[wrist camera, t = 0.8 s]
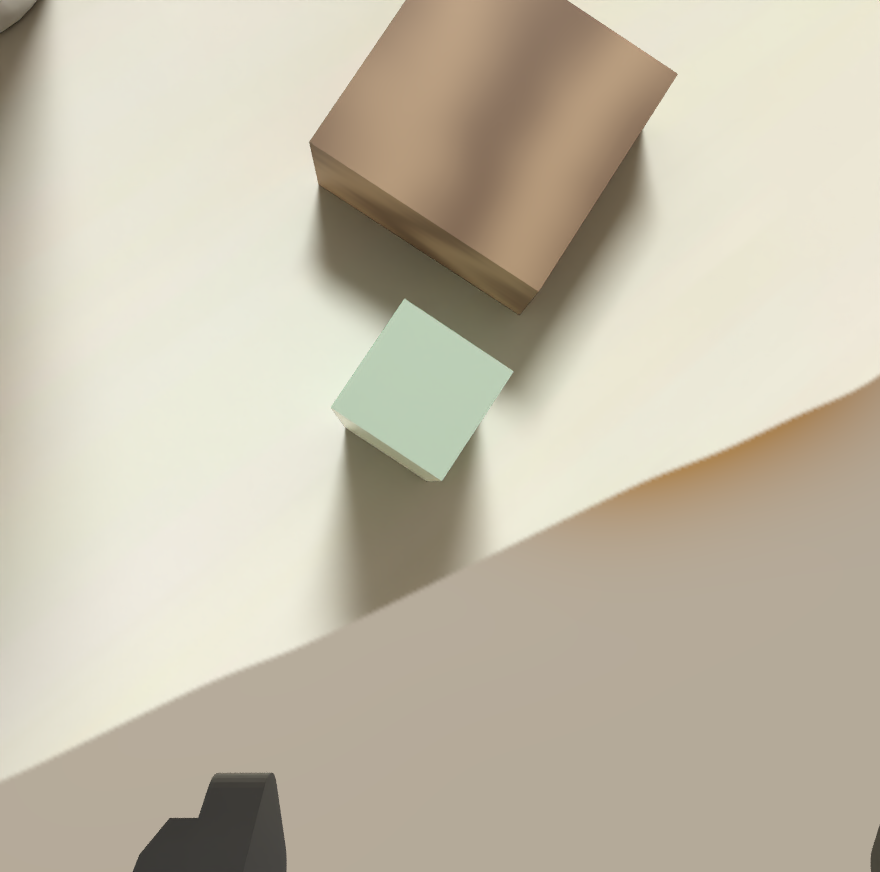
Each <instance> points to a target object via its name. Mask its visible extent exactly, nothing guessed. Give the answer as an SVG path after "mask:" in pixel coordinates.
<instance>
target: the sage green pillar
mask: <svg viewBox="0 0 880 872" xmlns="http://www.w3.org/2000/svg"><path fill="white" fill-rule="evenodd" d="M513 372H514V371H512V370H511V369H509V368H508V367H506V366H505V365H503V364H502V363H500V362H499V361H497V360H496V359H494V358H493V357H491V356H490V355H488V354H487V353H485V352H484V351H482V350H481V349H479V348H478V347H476V346H475V345H473V344H472V343H470V342H469V341H467V340H466V339H464V338H463V337H461V336H460V335H458V334H457V333H455V332H454V331H452V330H451V329H449V328H448V327H446V326H445V325H443V324H442V323H440V322H439V321H437V320H436V319H434V318H433V317H431V316H430V315H428V314H427V313H425V312H424V311H422V310H421V309H419V308H418V307H416V306H415V305H413V304H412V303H410V302H409V301H407V300H406V299H404V300H403V301H402V303H401V304H400V306H399V307H398V309H397V310H396V312H395V313H394V315H393V316H392V318H391V319H390V321H389V322H388V324H387V325H386V326H385V328H384V329H383V331H382V332H381V334H380V335H379V337H378V338H377V340H376V341H375V343H374V344H373V346H372V347H371V349H370V350H369V352H368V353H367V355H366V356H365V358H364V359H363V361H362V362H361V363H360V365H359V366H358V368H357V369H356V371H355V372H354V374H353V375H352V377H351V378H350V380H349V381H348V383H347V384H346V386H345V387H344V389H343V390H342V392H341V393H340V395H339V396H338V398H337V399H336V401H335V402H334V403H333V405H332V406H331V409H332V410H333V411H334V413H335V414H336V416H337V417H338V418H339V420H340V421H341V423H342V424H343V425H344V427H345V428H346V429H348V430H349V431H351V432H352V433H354V434H356V435H357V436H359V437H360V438H362V439H363V440H365V441H366V442H368V443H369V444H371V445H372V446H374V447H375V448H377V449H378V450H380V451H381V452H383V453H384V454H386V455H387V456H389V457H390V458H392V459H393V460H395V461H396V462H398V463H399V464H401V465H402V466H404V467H405V468H407V469H409V470H410V471H412V472H413V473H415V474H416V475H418V476H419V477H421V478H422V479H424V480H425V481H442V480H443V479H444V477H445V476H446V474H447V473H448V471H449V470H450V468H451V467H452V465H453V463H454V462H455V460H456V459H457V457H458V456H459V454H460V453H461V451H462V450H463V448H464V447H465V445H466V444H467V442H468V441H469V439H470V438H471V436H472V434H473V433H474V431H475V430H476V428H477V427H478V425H479V424H480V422H481V421H482V419H483V418H484V416H485V415H486V413H487V412H488V410H489V409H490V407H491V405H492V404H493V402H494V401H495V399H496V398H497V396H498V395H499V393H500V392H501V390H502V389H503V387H504V386H505V384H506V383H507V381H508V380H509V378H510V376H511V375H512V373H513Z"/></svg>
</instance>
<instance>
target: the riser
mask: <svg viewBox="0 0 880 872" xmlns="http://www.w3.org/2000/svg"><path fill="white" fill-rule="evenodd" d="M677 75H678V74H677V73H676V72H674V71H673V70H671V69H670V68H668V67H667V66H665V65H664V64H662V63H661V62H659V61H658V60H656V59H655V58H653V57H652V56H650V55H649V54H647V53H646V52H644V51H643V50H641V49H640V48H638V47H637V46H635V45H634V44H632V43H631V42H629V41H627V40H626V39H624V38H623V37H621V36H620V35H618V34H617V33H615V32H614V31H612V30H611V29H609V28H608V27H606V26H605V25H603V24H602V23H600V22H599V21H597V20H596V19H594V18H593V17H591V16H590V15H588V14H587V13H585V12H584V11H582V10H581V9H579V8H578V7H576V6H575V5H573V4H572V3H570V2H569V1H567V0H406V1H405V2H404V4H403V5H402V7H401V8H400V10H399V11H398V12H397V14H396V15H395V17H394V18H393V20H392V21H391V23H390V24H389V26H388V27H387V29H386V30H385V32H384V33H383V34H382V36H381V37H380V39H379V40H378V42H377V43H376V45H375V46H374V48H373V49H372V51H371V52H370V54H369V55H368V57H367V58H366V59H365V61H364V62H363V64H362V65H361V67H360V68H359V70H358V71H357V73H356V74H355V76H354V77H353V79H352V80H351V81H350V83H349V84H348V86H347V87H346V89H345V90H344V92H343V93H342V95H341V96H340V98H339V99H338V101H337V102H336V104H335V105H334V106H333V108H332V109H331V111H330V112H329V114H328V115H327V117H326V118H325V120H324V121H323V123H322V124H321V126H320V127H319V128H318V130H317V131H316V133H315V134H314V136H313V137H312V139H311V140H310V142H309V143H310V147H311V152H312V157H313V161H314V166H315V170H316V175H317V180H318V184H319V185H320V186H322V187H323V188H325V189H326V190H328V191H329V192H331V193H332V194H334V195H335V196H337V197H339V198H340V199H342V200H343V201H345V202H346V203H348V204H349V205H351V206H352V207H354V208H355V209H357V210H359V211H360V212H362V213H363V214H365V215H366V216H368V217H369V218H371V219H372V220H374V221H375V222H377V223H379V224H380V225H382V226H383V227H385V228H386V229H388V230H389V231H391V232H392V233H394V234H395V235H397V236H399V237H400V238H402V239H403V240H405V241H406V242H408V243H409V244H411V245H412V246H414V247H415V248H417V249H419V250H420V251H422V252H423V253H425V254H426V255H428V256H429V257H431V258H432V259H434V260H435V261H437V262H438V263H440V264H442V265H443V266H445V267H446V268H448V269H449V270H451V271H452V272H454V273H455V274H457V275H458V276H460V277H462V278H463V279H465V280H466V281H468V282H469V283H471V284H472V285H474V286H475V287H477V288H478V289H480V290H482V291H483V292H485V293H486V294H488V295H489V296H491V297H492V298H494V299H495V300H497V301H498V302H500V303H502V304H503V305H505V306H506V307H508V308H509V309H511V310H512V311H514V312H515V313H517V314H518V315H520V314H521V313H522V311H523V310H524V309H525V308H526V307H527V305H528V304H529V303H530V302H531V300H532V299H533V298H534V297H535V296H536V294H537V293H538V292H539V290H540V289H541V287H542V286H543V284H544V283H545V281H546V279H547V278H548V276H549V275H550V273H551V272H552V270H553V268H554V267H555V265H556V264H557V262H558V261H559V259H560V257H561V256H562V254H563V253H564V251H565V250H566V248H567V247H568V245H569V243H570V242H571V240H572V239H573V237H574V236H575V234H576V232H577V231H578V229H579V228H580V226H581V225H582V223H583V222H584V220H585V218H586V217H587V215H588V214H589V212H590V211H591V209H592V207H593V206H594V204H595V203H596V201H597V200H598V198H599V197H600V195H601V193H602V192H603V190H604V189H605V187H606V186H607V184H608V182H609V181H610V179H611V178H612V176H613V175H614V173H615V171H616V170H617V168H618V167H619V165H620V164H621V162H622V161H623V159H624V157H625V156H626V154H627V153H628V151H629V150H630V148H631V146H632V145H633V143H634V142H635V140H636V139H637V137H638V136H639V134H640V132H641V131H642V129H643V128H644V126H645V125H646V123H647V121H648V120H649V118H650V117H651V115H652V114H653V112H654V110H655V109H656V107H657V106H658V104H659V103H660V101H661V100H662V98H663V96H664V95H665V93H666V92H667V90H668V89H669V87H670V85H671V84H672V82H673V81H674V79H675V78H676V76H677Z"/></svg>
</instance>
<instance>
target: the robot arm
mask: <svg viewBox="0 0 880 872" xmlns="http://www.w3.org/2000/svg"><path fill="white" fill-rule="evenodd" d="M35 2H36V0H0V33H1V32H3V31H4V30H5V29H7V28H8V27H10V26H11V25H13V24H14V23H16V22H17V21H18V20H20V19H21V18H22V17H23V16H24V15H25V13H26V12H27V11H28V10H29V9H30V8H31V7H32V6H33V5H34V4H35ZM133 872H286V847H285V840H284V833H283V826H282V820H281V813H280V805H279V798H278V791H277V784H276V779H275V776H274V774H273V773H216V774H215V775H214V776H213V778H212V780H211V782H210V784H209V787H208V790H207V793H206V796H205V799H204V802H203V805H202V808H201V811H200V814H199V818H169V820H168V821H167V822H166V823H165V825H164V826H163V827H162V828H161V829H160V830H159V832H158V833H157V834H156V835H155V836H154V838H153V839H152V840H151V841H150V843H149V844H148V845H147V846H146V847H145V849H144V850H143V851H142V852H141V853H140V855H139V857H138V860H137V862H136V865H135V867H134V870H133ZM871 872H880V826H879V829H878V832H877V836H876V839H875V842H874V845H873V848H872V853H871Z"/></svg>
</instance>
